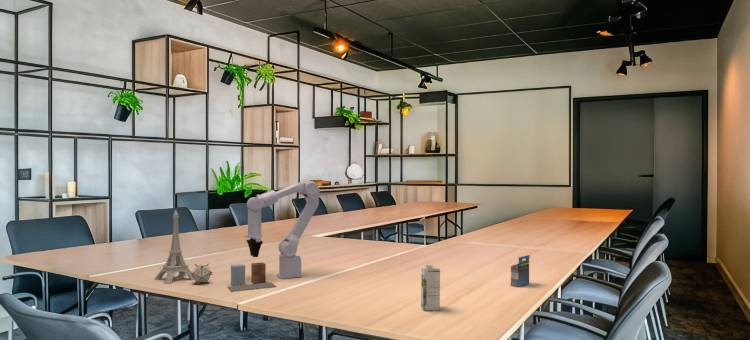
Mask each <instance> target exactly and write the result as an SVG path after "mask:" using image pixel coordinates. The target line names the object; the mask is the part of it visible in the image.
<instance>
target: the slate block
mask: <svg viewBox="0 0 750 340" xmlns="http://www.w3.org/2000/svg"><path fill="white" fill-rule="evenodd" d="M230 285H231V286H238V285H246V265H245V264H244V263H242V264H241V263H239V264H230Z"/></svg>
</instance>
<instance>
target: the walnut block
mask: <svg viewBox="0 0 750 340" xmlns="http://www.w3.org/2000/svg"><path fill="white" fill-rule="evenodd" d="M250 268H251V270H250V271H251V272H250V273H251V278H250V280H251V284H258V283H267V282H266V279H267V278H266V277H267V275H266V274H267V273H266V270H267V269H266V263H265V262H262V261H261V262H251V267H250Z"/></svg>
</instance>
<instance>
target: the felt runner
mask: <svg viewBox="0 0 750 340" xmlns="http://www.w3.org/2000/svg"><path fill="white" fill-rule="evenodd" d="M226 287H227V289H228V290H229V292H240V291H251V290H261V289H268V288H270V289H271V288H277V286H276V285H275V284H274V283H273V282H266V283H258V284H253V283H249V284H245V285H238V286H232V285H231V286H230V285H229V286H226Z"/></svg>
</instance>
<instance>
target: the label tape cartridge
mask: <svg viewBox="0 0 750 340" xmlns="http://www.w3.org/2000/svg"><path fill="white" fill-rule="evenodd" d="M529 284H530V254H527V255H524V256H519V257H518V263H515V264H513V265H511V266H510V287H514V288H520V287H523V286H527V285H529Z"/></svg>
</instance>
